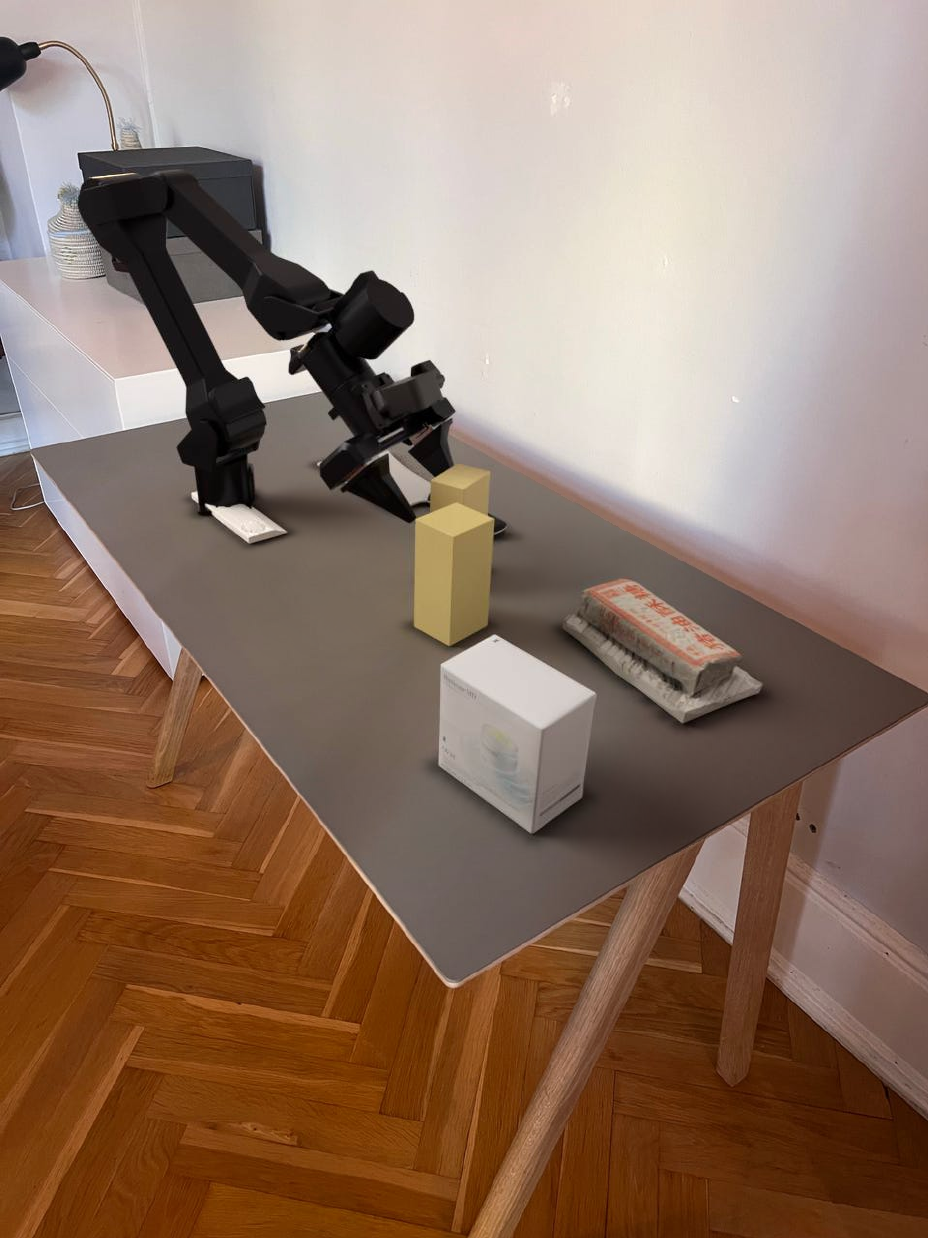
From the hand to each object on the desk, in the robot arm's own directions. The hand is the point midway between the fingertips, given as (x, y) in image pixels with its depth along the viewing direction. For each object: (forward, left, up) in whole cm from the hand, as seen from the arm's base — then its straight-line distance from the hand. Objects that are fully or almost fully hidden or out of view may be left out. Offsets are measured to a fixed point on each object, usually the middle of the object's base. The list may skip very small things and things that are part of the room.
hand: (436, 505), depth 98 cm
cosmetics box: (+1, -35, -8) cm, 36 cm away
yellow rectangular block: (+2, -2, -8) cm, 8 cm away
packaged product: (+19, -20, -8) cm, 29 cm away
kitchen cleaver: (0, +20, -8) cm, 21 cm away
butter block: (0, -12, -8) cm, 14 cm away
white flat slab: (-22, +16, -8) cm, 28 cm away
